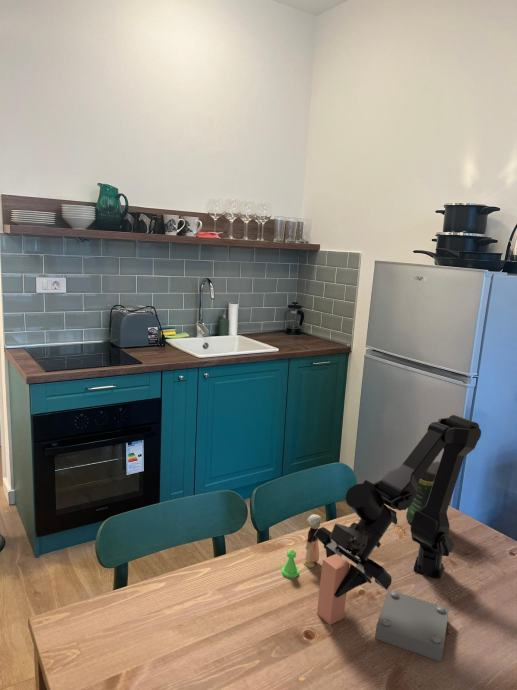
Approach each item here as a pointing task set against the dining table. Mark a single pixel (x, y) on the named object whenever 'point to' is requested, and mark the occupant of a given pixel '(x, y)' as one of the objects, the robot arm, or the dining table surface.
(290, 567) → the game piece
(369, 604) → the dining table surface
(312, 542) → the grandmother figurine
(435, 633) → the base brick
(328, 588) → the pillar brick
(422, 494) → the coffee jar
